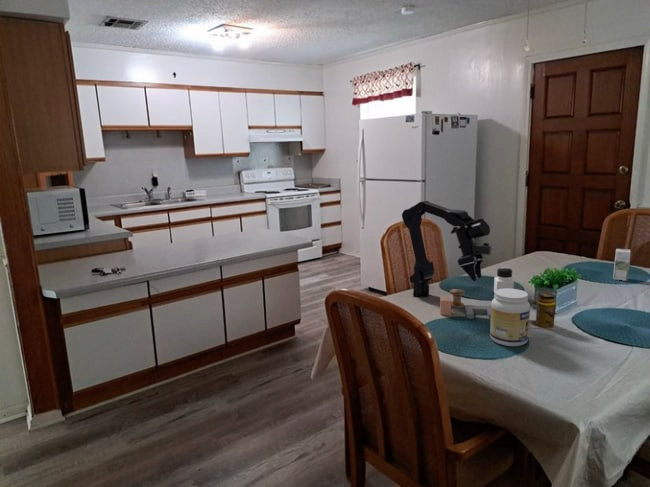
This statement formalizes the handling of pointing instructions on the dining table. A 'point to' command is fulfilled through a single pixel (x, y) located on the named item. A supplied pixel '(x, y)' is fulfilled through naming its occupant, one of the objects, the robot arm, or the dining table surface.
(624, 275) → the syrup box
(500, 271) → the medicine bottle
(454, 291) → the door knob
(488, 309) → the notched board
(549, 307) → the condiment
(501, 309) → the supplement tub
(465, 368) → the dining table surface
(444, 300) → the copper brown block
